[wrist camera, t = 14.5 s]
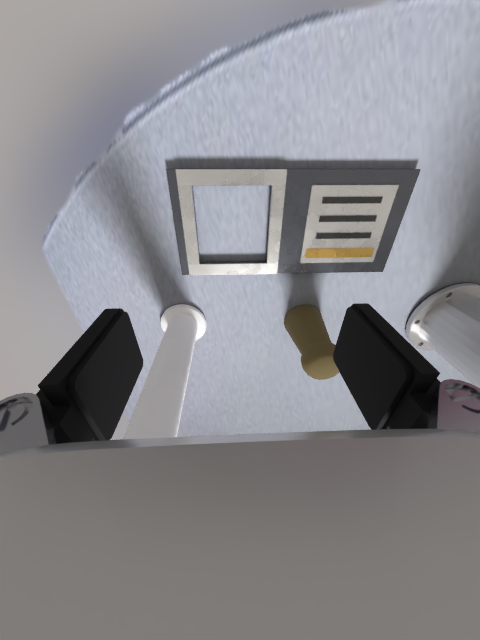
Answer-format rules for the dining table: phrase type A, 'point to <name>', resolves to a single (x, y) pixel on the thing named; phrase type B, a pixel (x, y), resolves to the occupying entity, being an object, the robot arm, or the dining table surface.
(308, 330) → the cork
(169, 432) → the candle
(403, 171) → the panel
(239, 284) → the dining table surface
